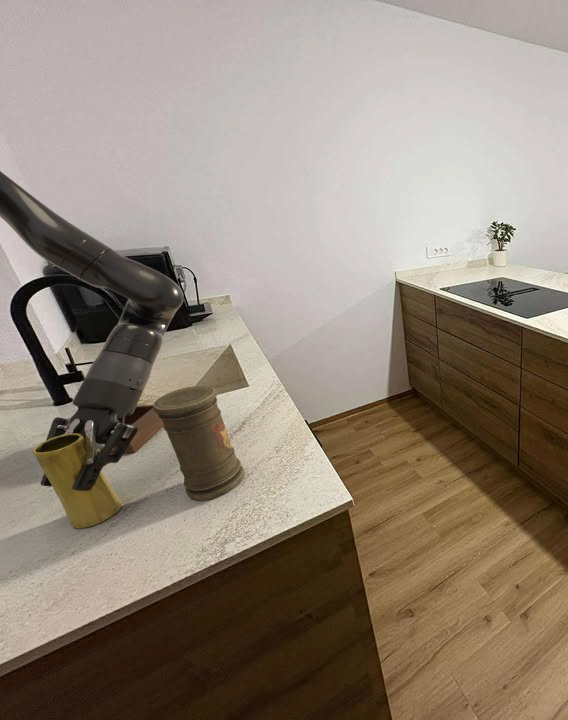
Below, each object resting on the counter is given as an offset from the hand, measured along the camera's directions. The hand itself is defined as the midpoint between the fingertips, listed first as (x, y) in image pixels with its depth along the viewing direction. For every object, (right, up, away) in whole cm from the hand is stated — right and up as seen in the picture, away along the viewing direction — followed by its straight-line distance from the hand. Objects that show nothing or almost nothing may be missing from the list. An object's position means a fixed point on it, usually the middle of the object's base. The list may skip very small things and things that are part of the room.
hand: (65, 487), depth 57 cm
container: (+15, -3, +11) cm, 19 cm away
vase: (0, -6, +5) cm, 8 cm away
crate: (-14, +2, +24) cm, 28 cm away
